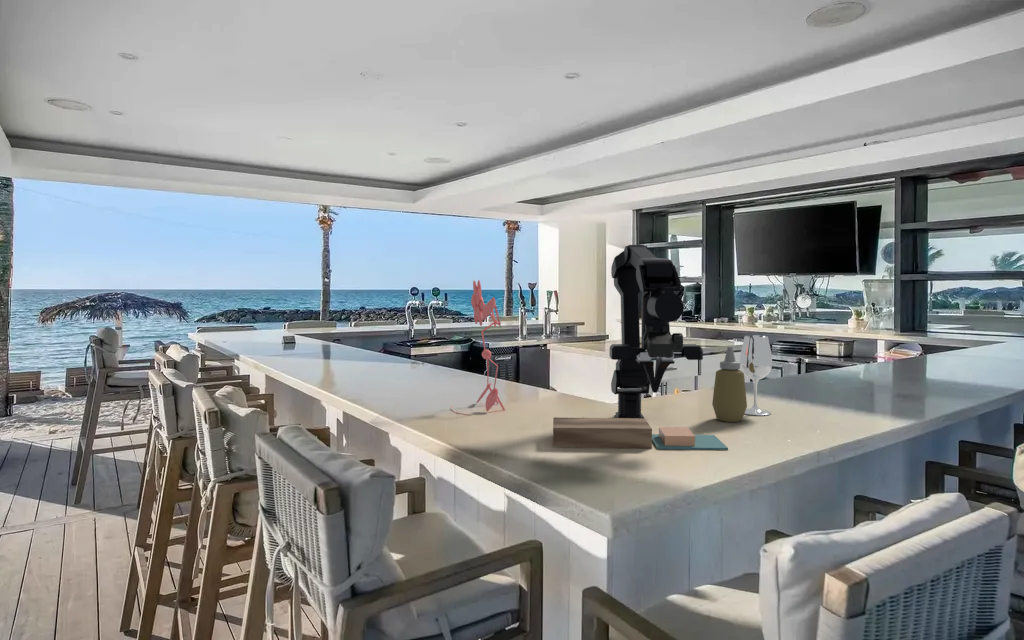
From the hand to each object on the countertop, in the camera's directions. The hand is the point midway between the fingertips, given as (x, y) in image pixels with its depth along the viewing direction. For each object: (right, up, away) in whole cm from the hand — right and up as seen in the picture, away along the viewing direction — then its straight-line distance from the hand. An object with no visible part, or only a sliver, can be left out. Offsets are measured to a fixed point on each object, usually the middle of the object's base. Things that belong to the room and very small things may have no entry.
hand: (654, 392), depth 130 cm
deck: (-12, -11, 0) cm, 16 cm away
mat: (+6, -10, -1) cm, 12 cm away
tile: (+4, -8, -2) cm, 9 cm away
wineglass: (+33, -9, +29) cm, 44 cm away
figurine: (-40, -9, +37) cm, 55 cm away
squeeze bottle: (+23, -9, +20) cm, 32 cm away
